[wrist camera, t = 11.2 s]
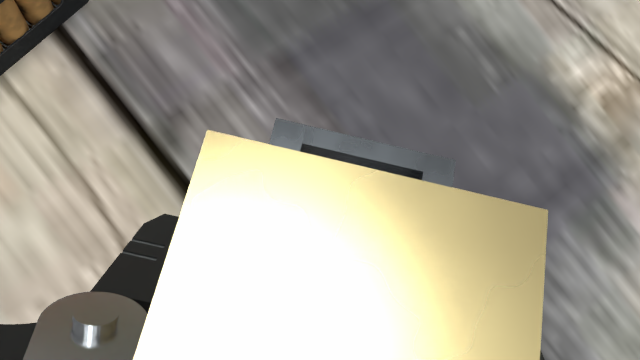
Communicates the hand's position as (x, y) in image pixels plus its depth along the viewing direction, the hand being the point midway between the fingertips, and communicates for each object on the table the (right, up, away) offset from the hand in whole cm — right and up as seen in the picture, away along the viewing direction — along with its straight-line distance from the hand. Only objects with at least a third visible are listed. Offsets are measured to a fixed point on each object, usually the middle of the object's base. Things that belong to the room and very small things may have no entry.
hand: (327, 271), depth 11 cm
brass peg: (-1, -3, +3) cm, 5 cm away
